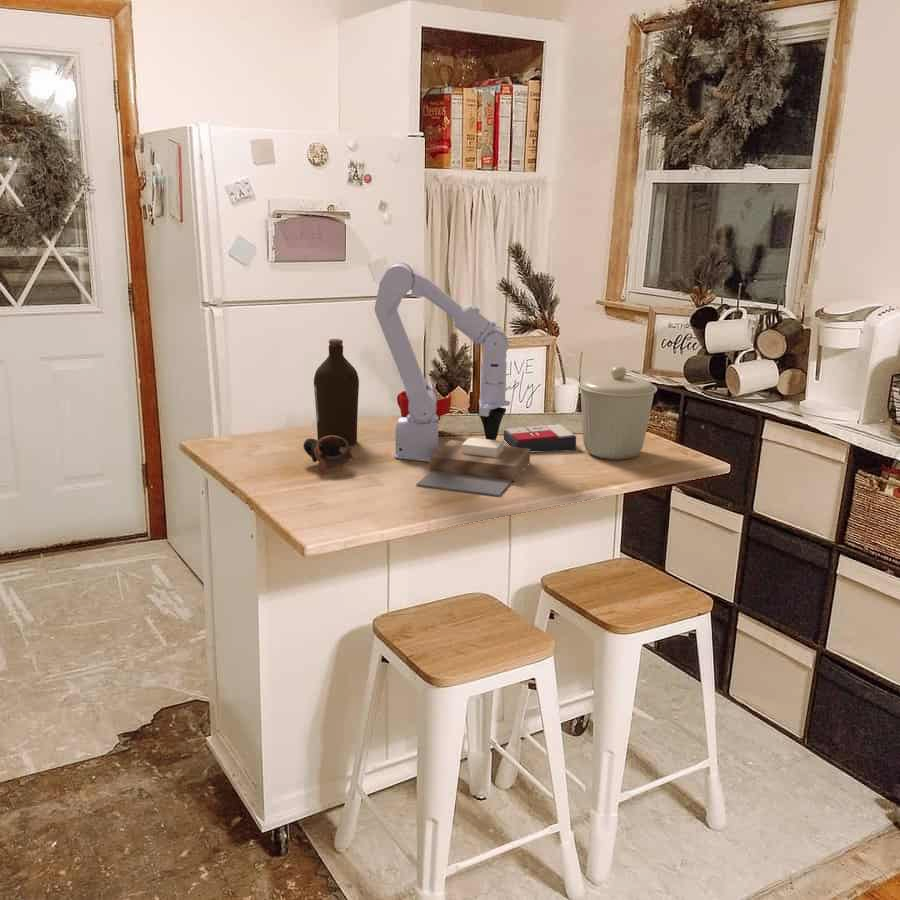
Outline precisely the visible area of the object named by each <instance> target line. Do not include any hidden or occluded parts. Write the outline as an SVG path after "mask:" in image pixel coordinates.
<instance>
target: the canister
mask: <svg viewBox="0 0 900 900" xmlns="http://www.w3.org/2000/svg"><path fill="white" fill-rule="evenodd" d="M577 386H578V388H579V389H580V404H581V407H580V408H581V424H582V438H583V441H582V442H583V445H584V448H585V450H586V451H587V452H588V453H589V454H590V455H592V456H595V457H597V458H602V459H605V460H617V461H618V460H628V459H629V460H630V459H633V458H635V457H636V456H638V455H639V454H640V453H641V451H642V449H643V447H644V442H645V438H646V435H647V430H648V427H649V426H648V425H649V421H650V415H651V411H652V407H653V406H652V405H653V400H654V395H655V394H656V393H657V391H658V387H657V386H656V385H655V384H652V382H651V381H649V380H646V379H644V378H641V377H637V376H632V375H627V370H626V368H625V367H624V366H621V365H615V366H612V368H611V370H610V374H596V375H591V376H589V377H586V378H585V379H584V380H581V381H579V382H578V383H577Z"/></svg>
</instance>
